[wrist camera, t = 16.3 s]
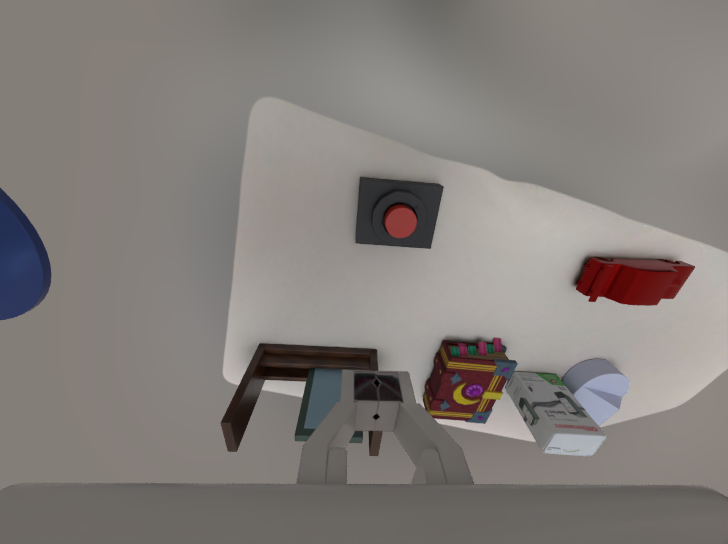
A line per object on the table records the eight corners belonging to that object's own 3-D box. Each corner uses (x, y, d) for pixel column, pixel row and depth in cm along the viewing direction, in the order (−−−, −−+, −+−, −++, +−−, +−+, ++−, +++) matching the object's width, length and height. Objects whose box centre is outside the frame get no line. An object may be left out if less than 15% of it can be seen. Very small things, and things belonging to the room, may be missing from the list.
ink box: (557, 373, 49) (612, 437, 38) (546, 391, 51) (595, 456, 40) (513, 370, 48) (556, 434, 38) (503, 388, 50) (542, 454, 40)
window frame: (262, 368, 47) (227, 451, 34) (259, 343, 44) (220, 422, 32) (373, 374, 48) (378, 456, 35) (376, 349, 45) (383, 428, 33)
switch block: (355, 237, 36) (355, 248, 33) (360, 177, 33) (360, 181, 29) (426, 243, 37) (434, 254, 33) (438, 183, 33) (448, 188, 30)
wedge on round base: (576, 409, 54) (624, 365, 48) (603, 443, 48) (661, 397, 42) (539, 400, 52) (585, 353, 47) (563, 433, 46) (618, 385, 41)
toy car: (568, 287, 40) (593, 305, 36) (583, 253, 38) (612, 268, 33) (654, 290, 41) (690, 308, 36) (675, 257, 38) (716, 272, 34)
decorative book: (420, 397, 51) (426, 421, 47) (442, 332, 44) (452, 354, 39) (476, 401, 52) (487, 426, 47) (506, 339, 45) (523, 361, 40)
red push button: (382, 232, 32) (383, 237, 31) (386, 202, 30) (387, 206, 29) (411, 234, 32) (414, 239, 31) (416, 205, 31) (419, 208, 29)
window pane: (310, 368, 45) (289, 468, 31) (310, 361, 44) (288, 460, 31) (361, 370, 46) (362, 469, 32) (361, 364, 45) (363, 462, 31)
